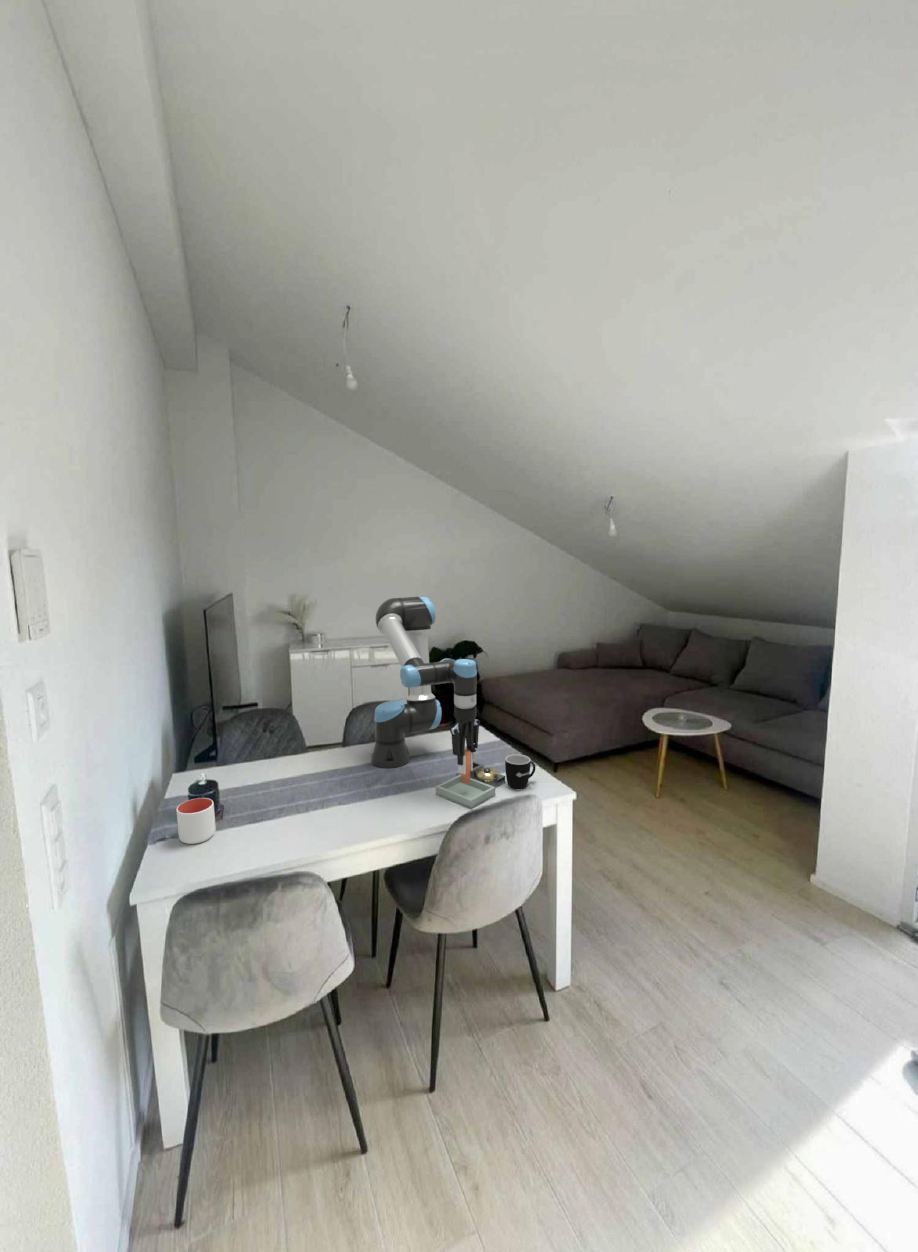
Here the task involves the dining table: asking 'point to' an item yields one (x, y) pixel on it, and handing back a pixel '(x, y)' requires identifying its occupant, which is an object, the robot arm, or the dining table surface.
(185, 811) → the cup
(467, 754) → the pin
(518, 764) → the mug
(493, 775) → the pulley block
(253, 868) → the dining table surface
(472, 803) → the tray
